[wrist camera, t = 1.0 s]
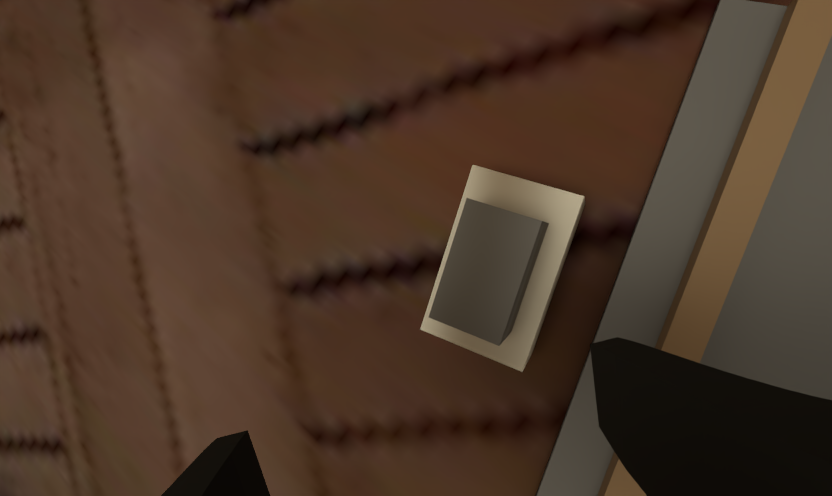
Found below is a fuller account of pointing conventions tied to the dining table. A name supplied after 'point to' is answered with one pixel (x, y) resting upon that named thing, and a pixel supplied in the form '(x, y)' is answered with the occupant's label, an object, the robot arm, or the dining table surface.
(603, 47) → the dining table surface
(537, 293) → the cabinet block
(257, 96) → the dining table surface
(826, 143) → the wall board
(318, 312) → the dining table surface
